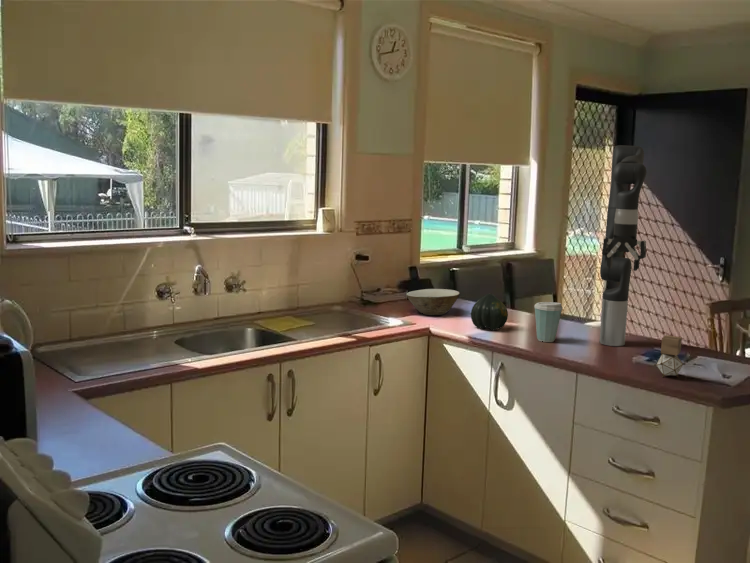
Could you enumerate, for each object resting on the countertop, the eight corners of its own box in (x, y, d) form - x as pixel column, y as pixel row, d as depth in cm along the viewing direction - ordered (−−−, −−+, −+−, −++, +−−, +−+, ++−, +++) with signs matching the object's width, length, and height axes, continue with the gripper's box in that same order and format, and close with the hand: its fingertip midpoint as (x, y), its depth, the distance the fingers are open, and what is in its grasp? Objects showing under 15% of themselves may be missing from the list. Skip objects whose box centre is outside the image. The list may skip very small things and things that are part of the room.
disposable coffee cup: (526, 339, 287) (528, 301, 284) (543, 335, 293) (545, 298, 291) (549, 345, 279) (551, 306, 276) (566, 341, 285) (568, 303, 283)
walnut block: (664, 349, 243) (665, 335, 242) (680, 352, 240) (681, 337, 240) (660, 353, 239) (661, 338, 238) (676, 355, 236) (678, 340, 236)
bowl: (396, 310, 338) (397, 288, 336) (442, 306, 348) (442, 285, 346) (421, 320, 317) (422, 297, 315) (468, 316, 327) (469, 294, 325)
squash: (486, 321, 292) (503, 290, 297) (459, 316, 304) (476, 287, 308) (503, 341, 300) (520, 310, 305) (476, 335, 312) (492, 306, 316)
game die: (669, 385, 243) (682, 359, 245) (680, 384, 235) (694, 357, 237) (645, 371, 244) (659, 345, 246) (655, 369, 236) (670, 342, 238)
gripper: (650, 223, 251) (646, 270, 254) (608, 220, 259) (605, 266, 262) (644, 224, 245) (640, 272, 248) (601, 221, 253) (598, 268, 256)
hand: (622, 269), depth 255 cm, fingers open, 8 cm apart
